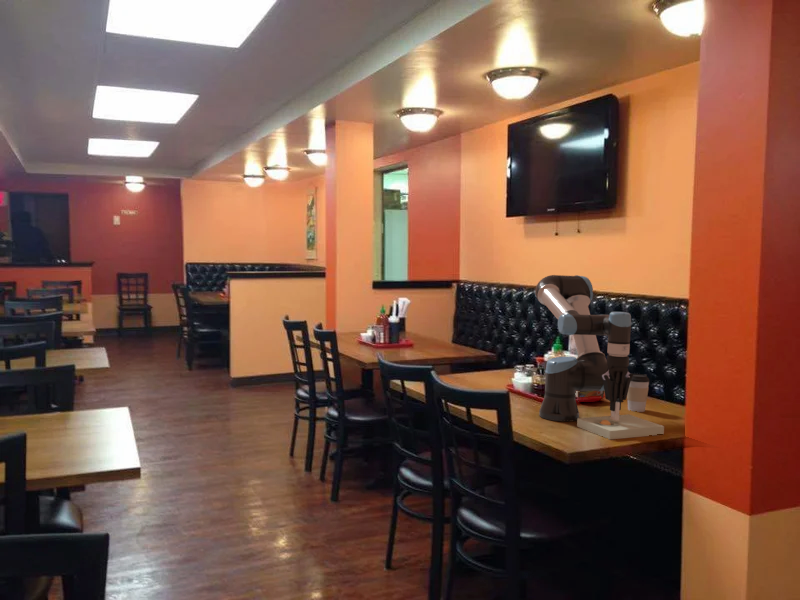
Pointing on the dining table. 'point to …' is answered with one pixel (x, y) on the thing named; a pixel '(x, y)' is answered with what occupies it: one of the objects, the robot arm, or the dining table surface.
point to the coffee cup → (638, 392)
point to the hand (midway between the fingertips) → (614, 419)
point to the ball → (605, 422)
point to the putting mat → (620, 427)
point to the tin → (590, 393)
